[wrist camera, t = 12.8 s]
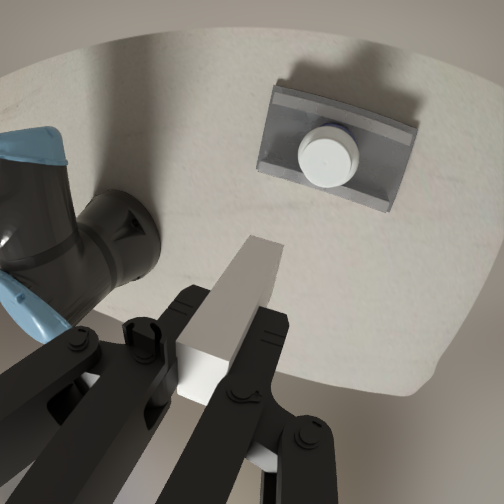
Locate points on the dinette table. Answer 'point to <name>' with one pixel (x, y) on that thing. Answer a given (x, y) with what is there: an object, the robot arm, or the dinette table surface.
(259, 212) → the dinette table surface
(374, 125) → the rail channel
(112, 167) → the dinette table surface
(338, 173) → the pill bottle
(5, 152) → the robot arm
